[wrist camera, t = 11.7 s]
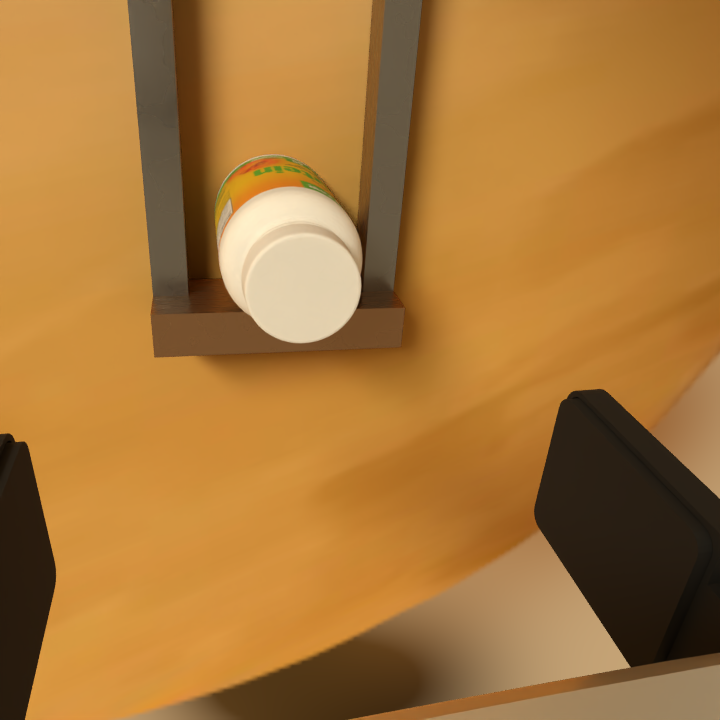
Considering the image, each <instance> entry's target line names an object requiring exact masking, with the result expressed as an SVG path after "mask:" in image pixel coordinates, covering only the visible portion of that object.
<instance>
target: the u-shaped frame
mask: <svg viewBox="0 0 720 720" xmlns="http://www.w3.org/2000/svg"><path fill="white" fill-rule="evenodd" d="M421 9H422V0H373V5H372V20H371V34H370V49H369V63H368V78H367V93H366V107H365V122H364V137H363V151H362V166H361V181H360V195H359V210H358V224H357V232H358V235H359V238H360V242H361V248H362V269H361V274H360V276H361V295H360V299H359V303H358V305H357V308H356V310H355V312H354V314H353V315H352V317H351V318H350V319H349V321H348V322H347V323H346V324H345V325H344V326H343V327H342V328H341V329H339V330H338V331H337V332H336V333H334V334H332V335H331V336H329V337H327V338H324V339H322V340H319V341H315V342H310V343H291V342H286V341H282V340H280V339H277V338H275V337H273V336H271V335H270V334H268V333H266V332H265V331H264V330H263V329H261V328H260V327H259V326H258V325H257V323H256V322H255V321H254V319H253V318H252V317H251V316H250V315H248V314H247V313H245V312H244V311H243V310H242V309H241V308H240V307H239V306H238V305H237V304H236V303H235V302H234V300H233V299H232V298H231V296H230V295H229V293H228V291H227V289H226V287H225V284H224V281H223V279H189V276H188V258H187V241H186V224H185V207H184V190H183V173H182V156H181V139H180V122H179V105H178V88H177V70H176V53H175V36H174V19H173V2H172V0H128V11H129V23H130V34H131V46H132V58H133V69H134V81H135V92H136V104H137V115H138V127H139V138H140V150H141V161H142V173H143V184H144V196H145V207H146V219H147V230H148V242H149V253H150V265H151V276H152V288H153V301H152V309H151V324H152V335H153V346H154V357H176V356H200V355H224V354H248V353H272V352H296V351H320V350H344V349H368V348H392V347H401V341H402V332H403V323H404V314H405V307H404V305H403V304H402V303H401V301H400V300H399V298H398V297H397V295H396V294H395V293H394V291H393V290H394V280H395V270H396V260H397V250H398V240H399V230H400V220H401V210H402V200H403V190H404V180H405V170H406V159H407V149H408V139H409V129H410V119H411V109H412V99H413V89H414V79H415V69H416V59H417V49H418V39H419V29H420V19H421Z"/></svg>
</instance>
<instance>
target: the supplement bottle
mask: <svg viewBox="0 0 720 720" xmlns="http://www.w3.org/2000/svg"><path fill="white" fill-rule="evenodd" d="M215 228H216V237H217V246H218V257H219V265H220V271H221V274H222V278H223V281H224V284H225V287H226V289H227V291H228V293H229V295H230V296H231V298H232V299H233V300H234V302H235V303H236V304H237V305H238V306H239V307H240V308H241V309H242V310H243V311H244V312H245V313H247V314H248V315H250V316H251V317H252V318H253V319H254V321H255V322H256V323H257V325H258V326H259V327H260V328H261V329H263V330H264V331H265V332H266V333H268V334H270V335H271V336H273V337H275V338H277V339H280V340H282V341H286V342H291V343H310V342H315V341H319V340H322V339H324V338H327V337H329V336H331V335H332V334H334V333H336V332H337V331H338V330H339V329H341V328H342V327H343V326H344V325H345V324H346V323H347V322H348V321H349V319H350V318H351V317H352V315H353V314H354V312H355V310H356V308H357V305H358V303H359V299H360V295H361V276H360V274H361V269H362V248H361V242H360V238H359V235H358V232H357V230H356V228H355V226H354V224H353V222H352V220H351V219H350V217H349V216H348V214H347V213H346V212H345V210H344V209H343V208H342V207H341V205H340V204H339V202H338V201H337V200H336V198H335V197H334V196H333V194H332V193H331V192H330V190H329V189H328V188H327V186H326V185H325V183H324V182H323V180H322V179H321V178H320V177H319V176H318V175H317V174H316V172H314V171H313V170H312V169H311V168H310V167H309V166H307V165H306V164H304V163H303V162H301V161H299V160H297V159H294V158H292V157H288V156H284V155H277V154H270V155H262V156H257V157H254V158H251V159H249V160H247V161H245V162H243V163H241V164H240V165H239V166H237V167H236V168H235V169H234V170H233V171H232V172H231V173H230V174H229V175H228V176H227V177H226V179H225V180H224V182H223V184H222V185H221V188H220V190H219V192H218V195H217V199H216V203H215Z"/></svg>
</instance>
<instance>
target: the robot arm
mask: <svg viewBox="0 0 720 720" xmlns="http://www.w3.org/2000/svg"><path fill="white" fill-rule="evenodd" d="M534 514H535V520H536V523H537V525H538V527H539V528H540V530H541V532H542V533H543V534H544V536H545V537H546V539H547V541H548V542H549V544H550V545H551V547H552V548H553V550H554V551H555V553H556V554H557V556H558V557H559V559H560V560H561V562H562V563H563V565H564V567H565V568H566V569H567V571H568V573H569V574H570V576H571V577H572V578H573V580H574V582H575V583H576V585H577V586H578V588H579V589H580V591H581V592H582V594H583V595H584V597H585V598H586V600H587V602H588V603H589V605H590V606H591V607H592V609H593V611H594V612H595V614H596V615H597V617H598V618H599V620H600V621H601V623H602V624H603V626H604V627H605V629H606V630H607V632H608V633H609V635H610V636H611V638H612V639H613V641H614V642H615V644H616V646H617V647H618V649H619V650H620V652H621V653H622V655H623V656H624V658H625V659H626V661H627V662H628V664H629V665H630V667H631V668H626V669H620V670H615V671H610V672H605V673H599V674H593V675H587V676H582V677H576V678H571V679H565V680H560V681H554V682H548V683H543V684H538V685H533V686H527V687H522V688H516V689H511V690H505V691H500V692H494V693H489V694H483V695H479V696H473V697H467V698H462V699H457V700H451V701H446V702H440V703H435V704H430V705H425V706H419V707H414V708H409V709H403V710H398V711H393V712H387V713H382V714H377V715H371V716H366V717H361V718H355V719H350V720H720V499H719V498H718V497H717V496H716V495H715V494H714V493H713V492H712V491H711V490H710V489H709V488H708V487H707V486H706V485H705V484H703V483H702V482H701V481H700V480H699V479H698V478H697V477H696V476H695V475H694V474H693V473H692V472H691V471H690V470H689V469H688V468H686V467H685V466H684V465H683V464H682V463H681V462H680V461H679V460H678V459H677V458H676V457H675V456H674V455H673V454H672V453H671V452H670V451H669V450H668V449H666V447H664V446H663V445H662V444H661V443H660V442H659V441H658V440H657V439H656V438H655V437H654V436H653V435H652V434H651V433H650V432H649V431H648V430H647V429H645V428H644V427H643V426H642V425H641V424H640V423H639V422H638V421H637V420H636V419H635V418H634V417H633V416H632V415H631V414H630V413H629V412H628V411H626V410H625V409H624V408H623V407H622V406H621V405H620V404H619V403H618V402H617V401H616V400H615V399H614V398H613V397H612V396H611V395H610V394H609V393H607V392H606V391H605V390H602V389H595V390H582V391H573V392H571V393H570V394H569V396H568V398H567V399H565V400H563V401H562V402H561V404H560V407H559V410H558V414H557V418H556V422H555V427H554V431H553V435H552V439H551V443H550V447H549V451H548V455H547V459H546V463H545V467H544V471H543V475H542V479H541V483H540V487H539V491H538V495H537V499H536V503H535V509H534ZM55 583H56V567H55V561H54V557H53V553H52V548H51V544H50V540H49V535H48V531H47V527H46V522H45V518H44V514H43V509H42V505H41V501H40V496H39V492H38V488H37V483H36V479H35V475H34V470H33V466H32V462H31V457H30V453H29V449H28V446H27V444H26V442H15V440H14V438H13V436H12V435H11V434H0V720H25V716H26V712H27V707H28V703H29V699H30V694H31V690H32V686H33V681H34V677H35V672H36V668H37V664H38V659H39V655H40V650H41V646H42V642H43V637H44V633H45V629H46V624H47V620H48V615H49V611H50V607H51V602H52V598H53V593H54V589H55Z"/></svg>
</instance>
